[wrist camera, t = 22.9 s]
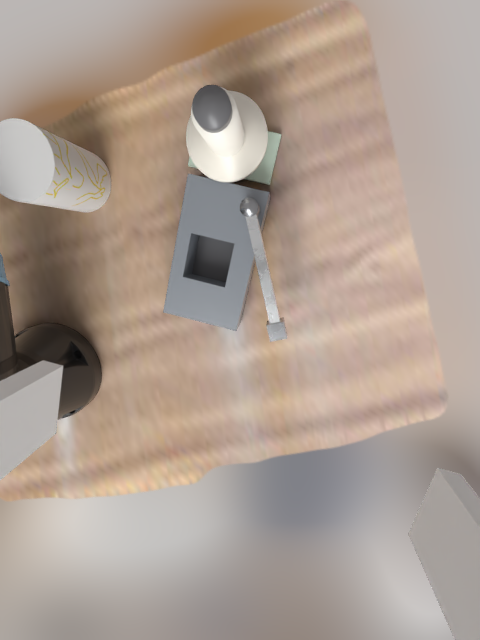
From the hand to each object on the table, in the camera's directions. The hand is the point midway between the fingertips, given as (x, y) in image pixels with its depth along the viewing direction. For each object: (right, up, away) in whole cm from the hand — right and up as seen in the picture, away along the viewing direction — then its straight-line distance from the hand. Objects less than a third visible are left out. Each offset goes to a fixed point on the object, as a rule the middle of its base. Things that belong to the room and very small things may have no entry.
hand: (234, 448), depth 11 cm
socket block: (-3, +14, +35) cm, 38 cm away
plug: (-1, +26, +31) cm, 41 cm away
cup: (-22, +24, +35) cm, 48 cm away
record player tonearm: (+3, +11, +30) cm, 32 cm away
